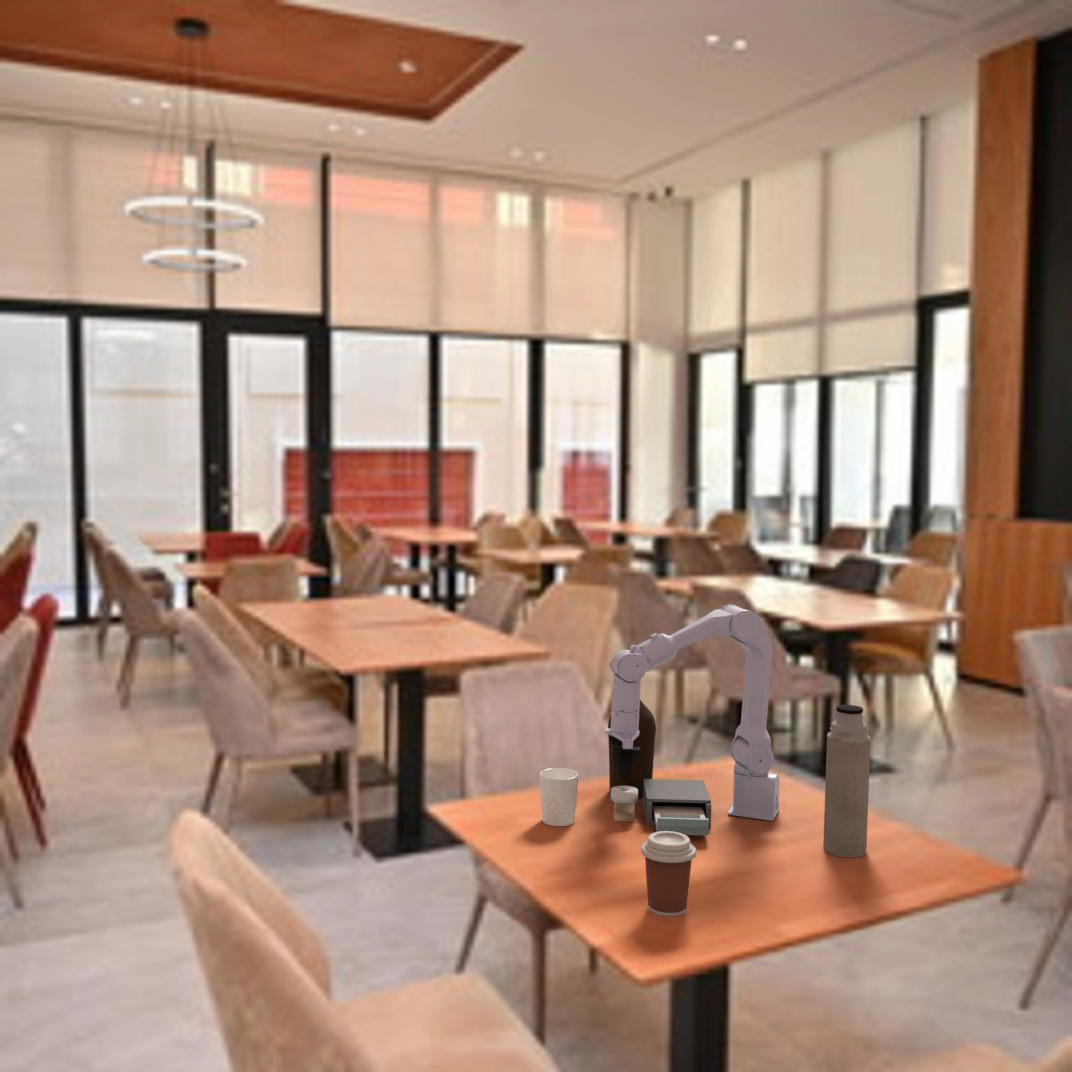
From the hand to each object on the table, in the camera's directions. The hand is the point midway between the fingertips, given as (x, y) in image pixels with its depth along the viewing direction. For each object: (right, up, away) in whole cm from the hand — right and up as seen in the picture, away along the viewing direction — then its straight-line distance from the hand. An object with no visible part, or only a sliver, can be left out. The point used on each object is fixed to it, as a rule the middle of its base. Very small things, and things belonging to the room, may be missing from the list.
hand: (622, 774), depth 220 cm
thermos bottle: (+42, -12, -15) cm, 46 cm away
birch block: (0, -10, +2) cm, 10 cm away
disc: (+1, -6, +1) cm, 6 cm away
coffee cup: (+4, -13, -42) cm, 44 cm away
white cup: (-13, -10, -1) cm, 16 cm away
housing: (+12, -9, +4) cm, 16 cm away
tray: (+11, -9, -5) cm, 15 cm away
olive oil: (+3, -9, +18) cm, 21 cm away
